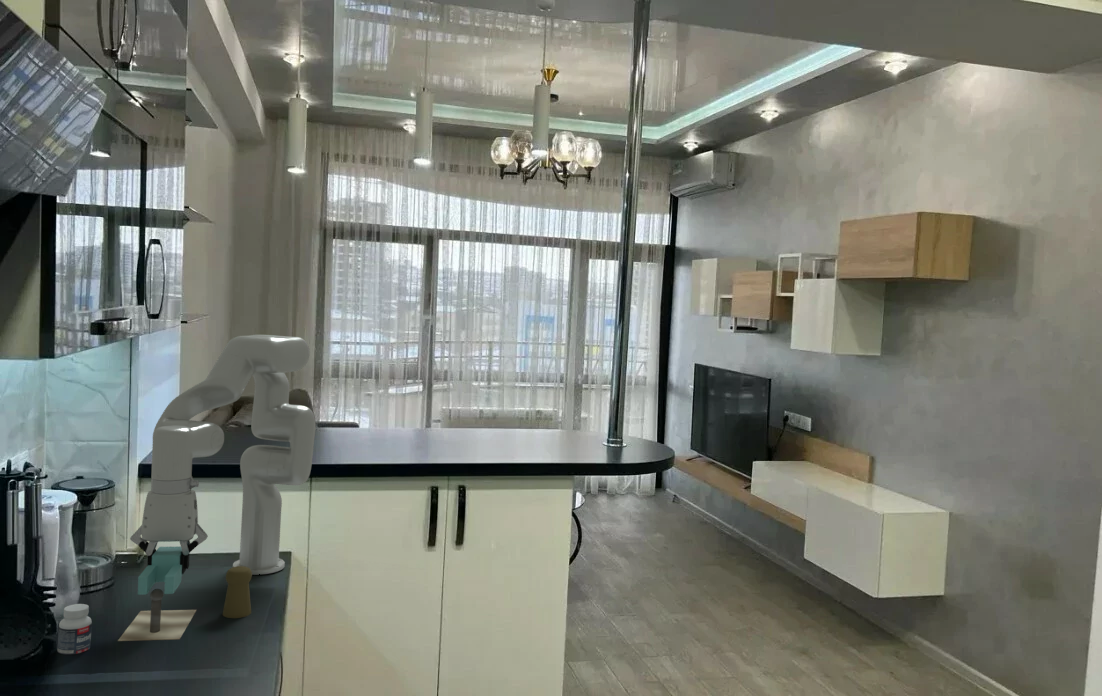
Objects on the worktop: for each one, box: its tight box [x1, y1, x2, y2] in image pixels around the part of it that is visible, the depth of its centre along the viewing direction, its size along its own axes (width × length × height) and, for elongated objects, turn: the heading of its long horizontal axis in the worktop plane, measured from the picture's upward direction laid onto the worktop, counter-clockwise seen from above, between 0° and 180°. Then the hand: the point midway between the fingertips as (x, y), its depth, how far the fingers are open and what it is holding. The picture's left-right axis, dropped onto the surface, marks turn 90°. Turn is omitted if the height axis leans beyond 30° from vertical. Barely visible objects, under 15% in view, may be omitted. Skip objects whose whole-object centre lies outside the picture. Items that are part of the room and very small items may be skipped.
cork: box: [222, 566, 253, 619], centre depth 169 cm, size 6×6×11 cm
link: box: [137, 546, 184, 596], centre depth 161 cm, size 13×6×6 cm, turn 13°
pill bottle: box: [56, 603, 93, 655], centre depth 147 cm, size 5×5×9 cm
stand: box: [117, 588, 197, 642], centre depth 160 cm, size 16×11×10 cm
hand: (168, 571), depth 164 cm, fingers closed on link, 5 cm apart
